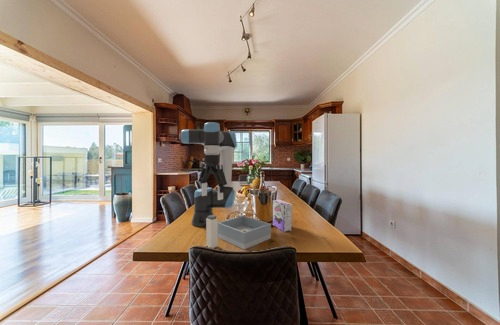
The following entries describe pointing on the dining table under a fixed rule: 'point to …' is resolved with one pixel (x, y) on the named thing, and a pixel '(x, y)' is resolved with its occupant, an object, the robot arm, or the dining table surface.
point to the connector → (212, 231)
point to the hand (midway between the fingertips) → (212, 197)
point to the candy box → (282, 215)
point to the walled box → (244, 231)
